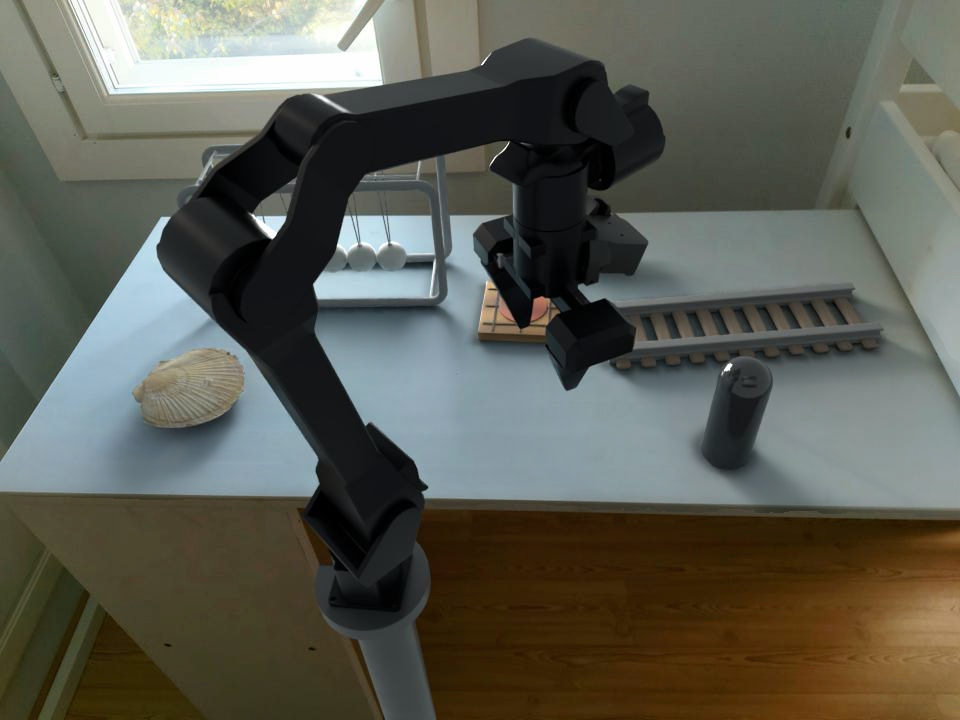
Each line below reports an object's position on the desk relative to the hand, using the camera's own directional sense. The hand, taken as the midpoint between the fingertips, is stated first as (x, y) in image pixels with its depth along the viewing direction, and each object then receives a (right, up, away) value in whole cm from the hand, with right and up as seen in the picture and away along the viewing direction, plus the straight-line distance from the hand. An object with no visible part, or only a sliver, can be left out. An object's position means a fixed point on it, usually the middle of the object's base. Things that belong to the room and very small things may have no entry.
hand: (546, 356), depth 69 cm
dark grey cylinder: (+19, -10, +7) cm, 22 cm away
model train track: (+24, +3, +20) cm, 31 cm away
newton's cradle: (-25, +10, +30) cm, 40 cm away
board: (-1, +5, +24) cm, 24 cm away
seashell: (-38, -5, +16) cm, 42 cm away
